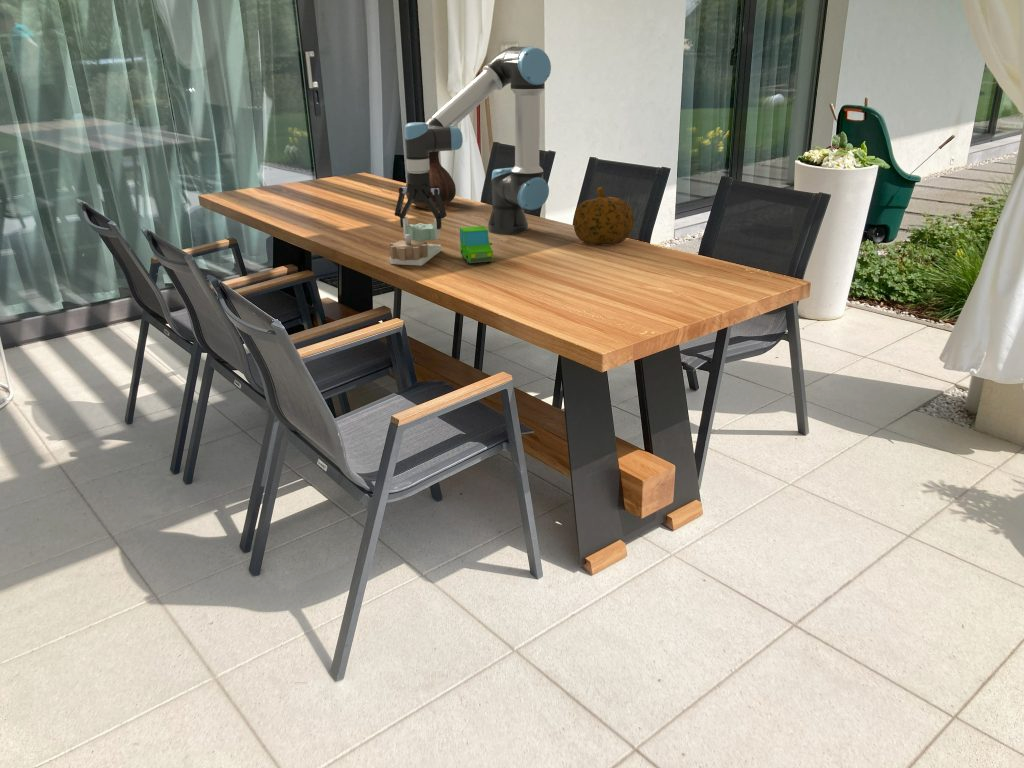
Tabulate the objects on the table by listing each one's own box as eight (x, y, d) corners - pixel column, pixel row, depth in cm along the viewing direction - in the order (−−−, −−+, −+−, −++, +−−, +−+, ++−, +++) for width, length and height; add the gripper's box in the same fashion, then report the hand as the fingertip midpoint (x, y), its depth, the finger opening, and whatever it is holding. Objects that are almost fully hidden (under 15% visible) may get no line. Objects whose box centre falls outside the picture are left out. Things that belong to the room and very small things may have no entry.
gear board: (443, 250, 288) (441, 224, 285) (420, 267, 268) (419, 240, 264) (409, 249, 291) (407, 223, 287) (384, 265, 271) (382, 238, 267)
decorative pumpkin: (636, 247, 286) (633, 188, 279) (575, 252, 288) (571, 193, 281) (632, 236, 305) (630, 180, 298) (575, 240, 307) (571, 185, 300)
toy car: (466, 267, 268) (465, 236, 264) (457, 257, 280) (456, 227, 276) (497, 264, 271) (496, 234, 267) (487, 255, 283) (486, 225, 279)
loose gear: (440, 235, 288) (440, 224, 286) (431, 242, 279) (430, 230, 277) (412, 234, 290) (411, 222, 289) (401, 240, 281) (401, 229, 280)
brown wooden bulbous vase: (466, 204, 364) (464, 132, 352) (437, 212, 347) (433, 138, 336) (427, 199, 375) (423, 130, 363) (396, 207, 358) (391, 135, 346)
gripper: (454, 170, 277) (456, 236, 285) (390, 168, 282) (394, 233, 290) (447, 174, 270) (450, 241, 279) (381, 172, 275) (386, 238, 284)
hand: (421, 237), depth 284 cm, fingers closed on loose gear, 10 cm apart
